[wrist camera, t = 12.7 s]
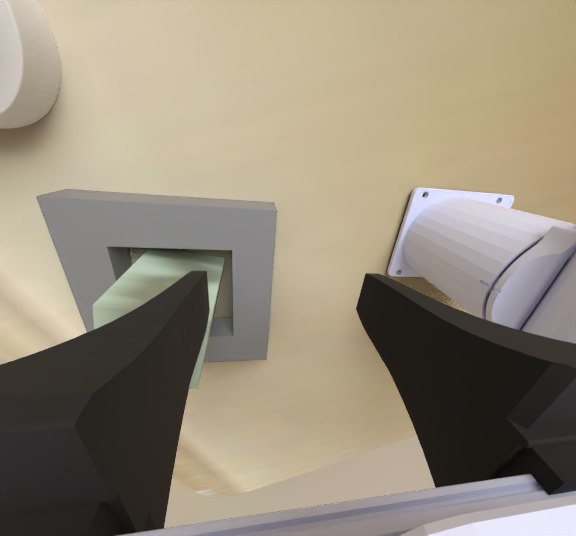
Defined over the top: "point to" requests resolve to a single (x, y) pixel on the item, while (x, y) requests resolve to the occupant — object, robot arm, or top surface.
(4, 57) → the wall hook
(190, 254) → the sage green block
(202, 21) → the top surface
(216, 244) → the well block
